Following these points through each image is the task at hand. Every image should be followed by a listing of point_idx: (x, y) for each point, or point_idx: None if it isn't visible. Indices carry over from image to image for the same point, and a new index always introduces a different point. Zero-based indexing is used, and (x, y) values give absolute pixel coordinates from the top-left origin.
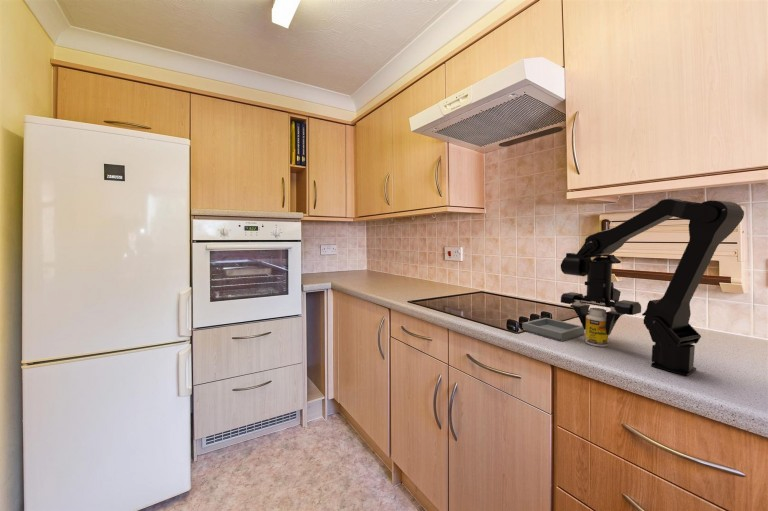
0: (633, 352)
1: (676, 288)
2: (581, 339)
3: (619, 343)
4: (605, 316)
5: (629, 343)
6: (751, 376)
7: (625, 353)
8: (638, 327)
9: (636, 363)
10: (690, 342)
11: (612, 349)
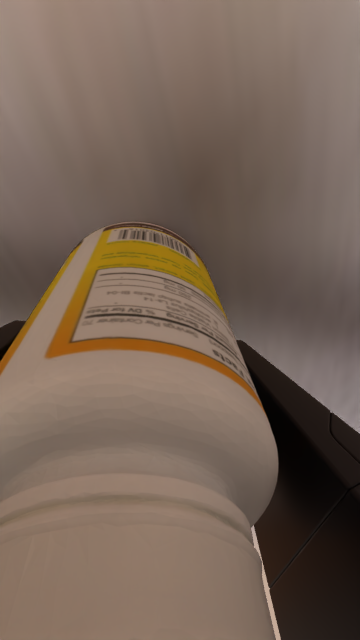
0: (350, 280)
1: None
2: (15, 256)
3: (265, 107)
4: (231, 486)
5: (348, 5)
6: None
7: (308, 332)
8: None
9: (344, 418)
10: None
11: (242, 318)
